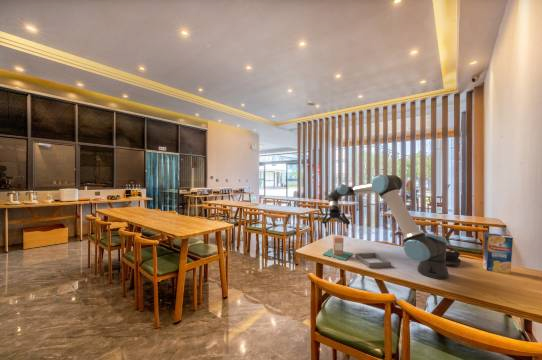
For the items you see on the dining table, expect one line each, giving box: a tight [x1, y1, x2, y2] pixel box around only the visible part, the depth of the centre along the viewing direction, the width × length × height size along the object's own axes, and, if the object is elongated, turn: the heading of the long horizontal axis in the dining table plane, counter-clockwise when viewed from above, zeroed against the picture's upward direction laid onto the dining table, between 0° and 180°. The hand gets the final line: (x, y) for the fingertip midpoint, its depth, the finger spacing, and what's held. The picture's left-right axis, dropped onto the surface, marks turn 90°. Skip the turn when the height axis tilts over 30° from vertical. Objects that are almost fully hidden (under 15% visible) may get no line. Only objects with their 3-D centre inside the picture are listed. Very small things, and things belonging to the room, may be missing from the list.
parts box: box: [332, 235, 344, 255], centre depth 165 cm, size 6×6×12 cm
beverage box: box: [482, 232, 514, 275], centre depth 145 cm, size 7×11×22 cm, turn 62°
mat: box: [322, 247, 353, 262], centre depth 166 cm, size 16×16×1 cm
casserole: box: [445, 245, 462, 266], centre depth 160 cm, size 25×19×8 cm
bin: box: [354, 252, 392, 269], centre depth 153 cm, size 17×15×3 cm
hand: (336, 231), depth 170 cm, fingers open, 13 cm apart
